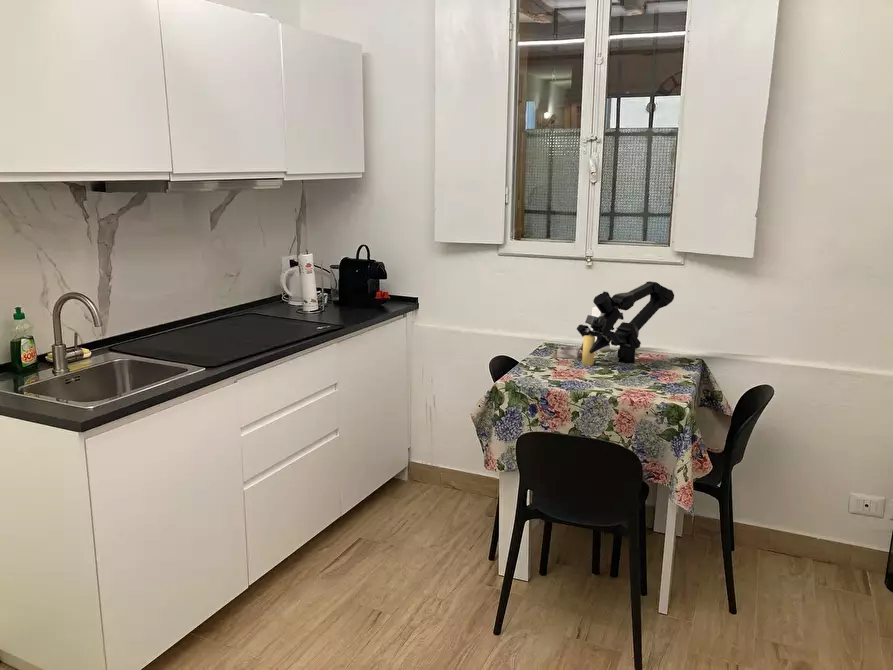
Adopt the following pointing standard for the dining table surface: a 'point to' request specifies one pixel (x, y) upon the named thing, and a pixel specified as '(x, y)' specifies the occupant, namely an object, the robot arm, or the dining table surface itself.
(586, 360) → the post
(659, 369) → the dining table surface
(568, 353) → the stand
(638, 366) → the dining table surface
